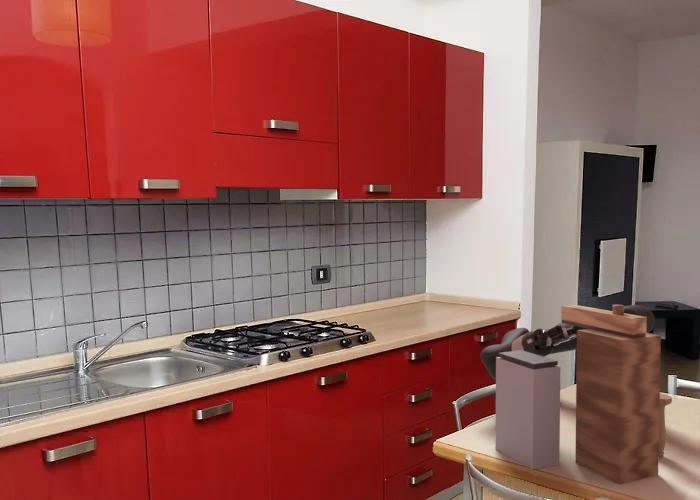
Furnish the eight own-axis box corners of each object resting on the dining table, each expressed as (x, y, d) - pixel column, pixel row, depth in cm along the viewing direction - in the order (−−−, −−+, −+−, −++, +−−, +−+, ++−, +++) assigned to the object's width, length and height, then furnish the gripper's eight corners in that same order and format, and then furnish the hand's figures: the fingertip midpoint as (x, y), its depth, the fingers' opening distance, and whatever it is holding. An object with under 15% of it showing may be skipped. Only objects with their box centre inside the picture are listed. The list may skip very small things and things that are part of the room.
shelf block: (612, 454, 148) (614, 326, 146) (658, 474, 136) (660, 335, 134) (575, 462, 143) (577, 330, 141) (619, 484, 131) (621, 340, 130)
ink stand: (520, 443, 155) (521, 349, 154) (559, 463, 142) (560, 361, 141) (495, 448, 152) (496, 352, 151) (532, 469, 139) (533, 364, 138)
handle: (666, 462, 143) (667, 400, 142) (638, 454, 147) (639, 394, 147) (673, 456, 146) (674, 396, 145) (645, 449, 151) (647, 391, 150)
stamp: (573, 321, 153) (573, 296, 153) (646, 336, 133) (646, 308, 133) (561, 322, 152) (561, 297, 151) (633, 338, 132) (633, 309, 131)
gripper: (555, 356, 166) (598, 339, 153) (516, 362, 160) (557, 344, 147) (546, 331, 169) (587, 311, 156) (507, 335, 163) (547, 315, 149)
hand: (573, 327), depth 151 cm, fingers open, 8 cm apart
